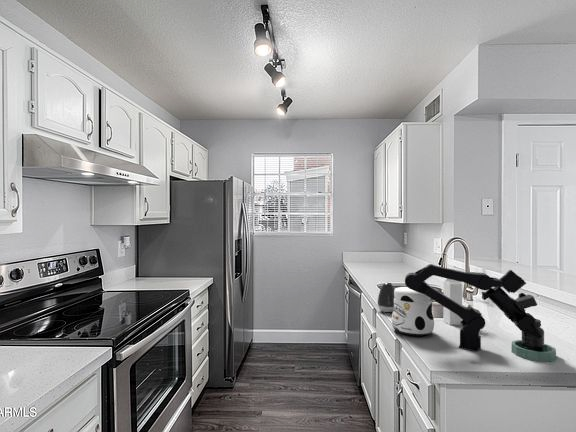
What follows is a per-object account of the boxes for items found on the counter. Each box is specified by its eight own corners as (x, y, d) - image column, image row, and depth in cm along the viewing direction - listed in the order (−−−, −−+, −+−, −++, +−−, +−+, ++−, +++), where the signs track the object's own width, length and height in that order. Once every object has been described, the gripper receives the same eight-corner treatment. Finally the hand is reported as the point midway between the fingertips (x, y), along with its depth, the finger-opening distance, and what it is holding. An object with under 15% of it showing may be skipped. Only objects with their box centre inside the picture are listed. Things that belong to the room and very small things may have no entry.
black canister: (400, 310, 194) (400, 282, 194) (394, 315, 185) (394, 285, 185) (381, 308, 199) (381, 280, 200) (374, 312, 191) (375, 282, 191)
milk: (462, 324, 169) (462, 277, 169) (449, 325, 169) (450, 277, 169) (454, 321, 176) (455, 275, 176) (442, 321, 175) (443, 275, 175)
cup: (510, 355, 131) (510, 347, 131) (513, 345, 142) (513, 337, 142) (556, 364, 123) (556, 355, 123) (555, 353, 134) (555, 344, 134)
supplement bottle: (531, 348, 137) (532, 316, 137) (548, 355, 130) (549, 321, 130) (516, 349, 135) (517, 317, 135) (533, 357, 129) (534, 323, 128)
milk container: (384, 332, 157) (384, 290, 157) (402, 324, 170) (402, 285, 170) (424, 341, 145) (424, 296, 145) (440, 332, 158) (440, 290, 158)
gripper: (529, 291, 125) (567, 327, 122) (514, 282, 143) (546, 314, 139) (502, 312, 127) (539, 348, 124) (491, 301, 145) (522, 332, 142)
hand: (537, 334), depth 132 cm, fingers closed on supplement bottle, 7 cm apart
